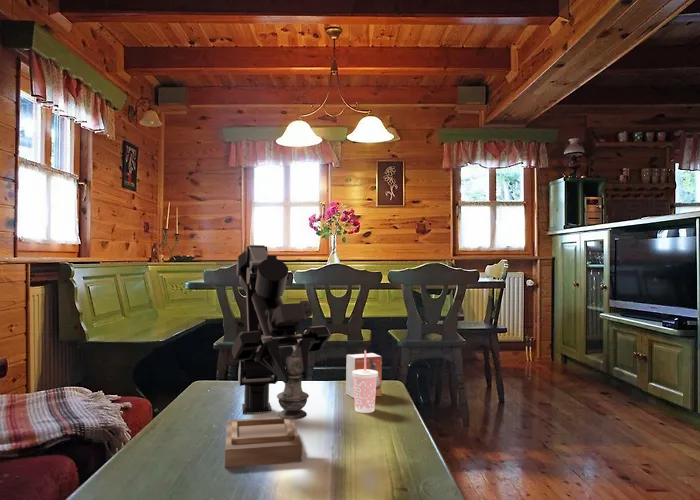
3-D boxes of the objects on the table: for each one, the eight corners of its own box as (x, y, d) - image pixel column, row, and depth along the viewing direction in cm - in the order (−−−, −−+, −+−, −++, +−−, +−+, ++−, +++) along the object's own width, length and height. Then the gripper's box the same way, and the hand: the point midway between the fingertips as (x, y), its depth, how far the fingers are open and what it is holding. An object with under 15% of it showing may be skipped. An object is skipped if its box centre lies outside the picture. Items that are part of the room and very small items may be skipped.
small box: (353, 399, 129) (354, 357, 129) (345, 394, 134) (345, 354, 134) (382, 396, 132) (382, 355, 132) (372, 391, 137) (372, 352, 137)
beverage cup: (346, 409, 120) (347, 349, 120) (366, 404, 124) (366, 347, 124) (363, 415, 115) (363, 353, 116) (383, 410, 119) (383, 351, 119)
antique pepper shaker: (300, 422, 90) (301, 354, 90) (270, 417, 92) (271, 351, 92) (313, 412, 95) (314, 348, 95) (285, 408, 97) (286, 345, 97)
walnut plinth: (226, 435, 101) (227, 416, 101) (291, 431, 104) (292, 412, 104) (224, 467, 85) (225, 444, 85) (301, 461, 88) (301, 439, 88)
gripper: (239, 287, 91) (263, 361, 82) (327, 285, 102) (357, 350, 93) (222, 325, 98) (243, 396, 89) (306, 319, 108) (333, 383, 99)
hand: (296, 380), depth 92 cm, fingers closed on antique pepper shaker, 4 cm apart
